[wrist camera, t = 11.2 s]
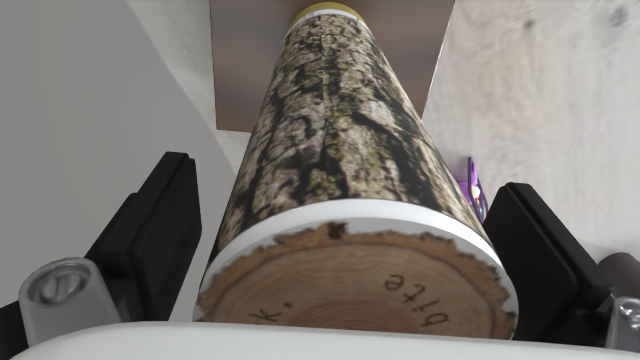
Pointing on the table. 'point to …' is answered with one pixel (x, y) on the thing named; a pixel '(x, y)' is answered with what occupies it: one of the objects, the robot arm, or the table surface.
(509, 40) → the table surface
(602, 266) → the coffee cup
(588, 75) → the table surface
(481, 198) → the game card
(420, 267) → the paper tube
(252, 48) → the walnut storage box
